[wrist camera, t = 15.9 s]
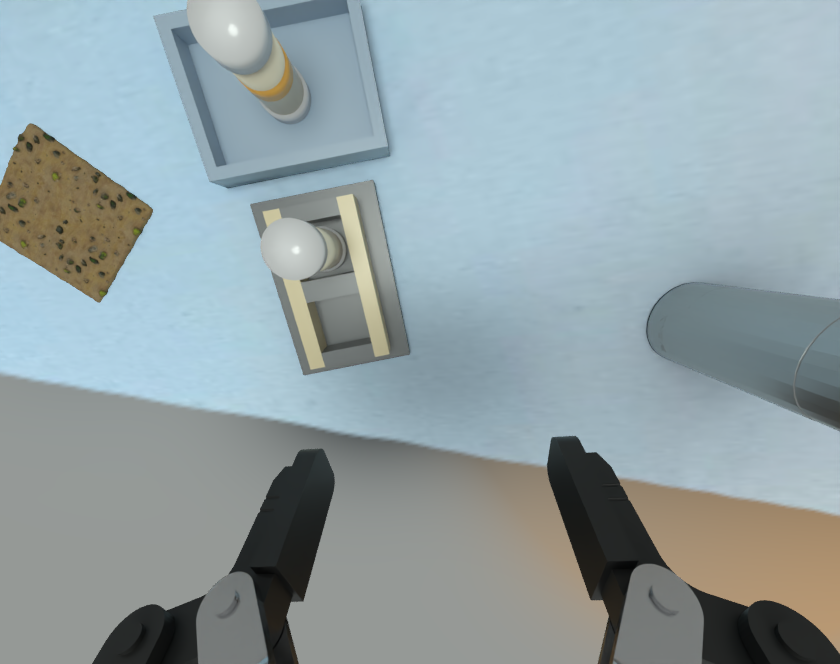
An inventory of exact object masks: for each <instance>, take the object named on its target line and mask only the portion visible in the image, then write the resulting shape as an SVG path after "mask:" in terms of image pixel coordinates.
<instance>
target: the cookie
mask: <svg viewBox="0 0 840 664" xmlns="http://www.w3.org/2000/svg"><path fill="white" fill-rule="evenodd" d="M13 150H14V152H13V155H12V157H11V158H10V161H9V163H8V167H7V169H6V172H5V175H4V178H3V181H2V183H1V185H0V241H1V242H3V243H4V244H6V245H8V246H9V247H11V248H12V249H14V250H16V251H17V252H18V253H19V254H21V255H23V256H25V257H27V258H29V259H30V260H32V261H34V262H35V263H36V264H38V265H40V266H42V267H43V268H45V269H46V270H48V271H49V272H51V273H52V274H54V275H56V276H57V277H59V278H60V279H62V280H64V281H66V282H67V283H69V284H70V285H72V286H73V287H75V288H76V289H78V290H80V291H82V292H83V293H84V294H86V295H88V296H89V297H91V298H93V299H94V300H95V301H97V302H101V300H102V299H103V297H104V296H105V295H106V294H107V292H108V289H109V287H110V286H111V285H112V282H113V281H114V280H115V278H116V275H117V273H118V271H119V269H120V268H121V266H122V265H123V264H124V261H125V259H126V257H127V256H128V254H129V253H130V251H131V249H132V248H133V246H134V244H135V242H136V240H137V238H138V237H139V235H140V234H141V233H142V230H143V228H144V226H145V225H146V224H147V222H148V220H149V219H150V217H151V215H152V212H153V209H152V208H151V207H150V206H149V205H148V204H146V203H144V202H143V201H141V200H140V199H138V198H137V197H136V196H135V195H133V194H132V193H130V192H129V191H127V190H126V189H125V188H124V187H122V186H121V185H119V184H117V183H116V182H114V181H113V180H111V179H110V178H108V177H107V176H106V175H105V174H104V173H102V172H101V171H99V170H98V169H96V168H94V167H93V166H92V165H91V164H89V163H88V162H87V161H85V160H84V159H82V158H80V157H79V156H77V155H76V154H74V153H73V152H72V151H70V150H69V149H68V148H67V147H65V146H64V145H62V144H61V143H59V142H58V141H57V140H55V139H54V138H53V137H51V136H49V135H48V134H47V133H45V132H44V131H43V130H42V129H40V128H39V127H38V126H36V125H34V124H29V125H28V126H27V127H26V129H25V131H24V132H23V133H22V134H20V135H19V136H18V144H17V145H16V146H15V147H14V148H13Z"/></svg>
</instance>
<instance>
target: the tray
mask: <svg viewBox="0 0 840 664" xmlns="http://www.w3.org/2000/svg"><path fill="white" fill-rule="evenodd" d="M256 1H257V2H258V4H259V6H260V7H261V9H262V10H263V12H264V14H265V16H266V17H267V19H268V22H269V24H270V27H271V31H272V33H273V34H274V36H275V38H276V39H277V40H278V41H279V43H280V44H281V46H282V48H283V49H284V51H285V53H286V54H287V56H288V58H289V59H290V62H291V64H292V65H293V66H294V67H296V68H297V70H298V71H299V72H300V73H301V75H302V77H303V78H304V80H305V82H306V83H307V85H308V87H309V90H310V93H311V107H310V110H309V113H308V114H307V116H306V117H305V118H304V119H303V120H302V121H300V122H298V123H296V124H284V123H282V122H279V121H278V120H276V119H275V118H274V117H273V116H272V115H271V114H270V113H269V112H268V111H267V110H266V109H265V108H264V107H263V106H262V105H261V103H260V102H259V99H258V98H257V97H256V96H254V95H253V94H252V93H251V92H250V91H249V90H248V89H247V88H246V87H245V86H244V85H243V84H242V83H241V82H240V81H239V80H238V78H237V77H236V76H235V75H234V74H233V73H232V72H230V71H228V70H226V69H225V68H223V67H222V66H221V65H220V64H219V63H218V62H217V61H216V60H214V59H213V58H212V57H211V56H210V55H209V54H208V53H207V52H206V51H205V50H204V49H203V48H202V47H201V45H200V44H199V43H198V42H197V40H196V38H195V37H194V35H193V33H192V31H191V28H190V26H189V22H188V17H187V9H185V10H180V11H175V12H170V13H166V14H161V15H156V16H153V17H154V20H155V23H156V26H157V29H158V32H159V35H160V38H161V41H162V44H163V47H164V50H165V53H166V56H167V59H168V62H169V64H170V67H171V70H172V73H173V76H174V79H175V82H176V85H177V88H178V91H179V94H180V97H181V100H182V103H183V106H184V109H185V111H186V114H187V117H188V120H189V123H190V126H191V129H192V132H193V135H194V138H195V141H196V144H197V147H198V150H199V153H200V156H201V158H202V161H203V164H204V167H205V170H206V173H207V176H208V179H209V182H212V183H215V184H218V185H221V186H224V187H226V188H231V187H236V186H241V185H246V184H251V183H256V182H261V181H266V180H271V179H276V178H281V177H286V176H291V175H296V174H301V173H306V172H311V171H316V170H321V169H326V168H331V167H336V166H341V165H346V164H351V163H356V162H361V161H366V160H371V159H376V158H382V157H387V156H389V150H388V144H387V139H386V134H385V128H384V123H383V118H382V113H381V108H380V103H379V98H378V92H377V87H376V82H375V77H374V72H373V67H372V62H371V56H370V51H369V46H368V41H367V36H366V31H365V26H364V20H363V15H362V10H361V5H360V0H256Z"/></svg>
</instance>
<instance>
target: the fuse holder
mask: <svg viewBox="0 0 840 664" xmlns="http://www.w3.org/2000/svg"><path fill="white" fill-rule="evenodd" d="M250 206H251V209H252V212H253V215H254V218H255V222H256V225H257V228H258V231H259V234H260V238H262V235H263V233H264V231H265V230H266V228H267V227H268V226H269V225H270V224H271V223H273V222H274V221H276V220H278V219H282V218H295V219H299V220H302V221H306V222H308V223H310V224H312V225H313V226H315V227H319V226H323V227H328V228H332V229H334V230H336V231H338V232H339V233H340V234H341V235H342V236H343V237H344V239H345V241H346V244H347V248H348V254H347V258H346V260H345V262H344V263H343V264H342V265H341V266H340V267H339V268H337V269H335V270H332V271H328V272H321V271H320V272H318V273H317V274H316V275H314V276H312V277H309V278H306V279H302V280H287V279H284V278H281V277H279V276H278V275H276V274H275V273H273V272H272V271H271V273H272V276H273V279H274V282H275V285H276V288H277V292H278V295H279V298H280V301H281V304H282V308H283V311H284V314H285V317H286V320H287V324H288V327H289V330H290V333H291V336H292V339H293V343H294V346H295V349H296V352H297V355H298V359H299V362H300V365H301V368H302V371H303V374H304V375H308V374H313V373H318V372H323V371H328V370H333V369H338V368H343V367H349V366H354V365H359V364H364V363H369V362H374V361H379V360H384V359H389V358H394V357H399V356H404V355H409V354H410V351H409V346H408V341H407V336H406V332H405V327H404V322H403V317H402V313H401V308H400V303H399V298H398V294H397V289H396V284H395V279H394V275H393V270H392V265H391V260H390V256H389V251H388V246H387V242H386V237H385V232H384V227H383V223H382V218H381V213H380V208H379V204H378V199H377V194H376V189H375V185H374V181H373V180H370V181H365V182H360V183H355V184H350V185H345V186H340V187H335V188H330V189H325V190H320V191H315V192H309V193H304V194H299V195H294V196H289V197H284V198H279V199H274V200H269V201H264V202H259V203H254V204H250Z"/></svg>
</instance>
